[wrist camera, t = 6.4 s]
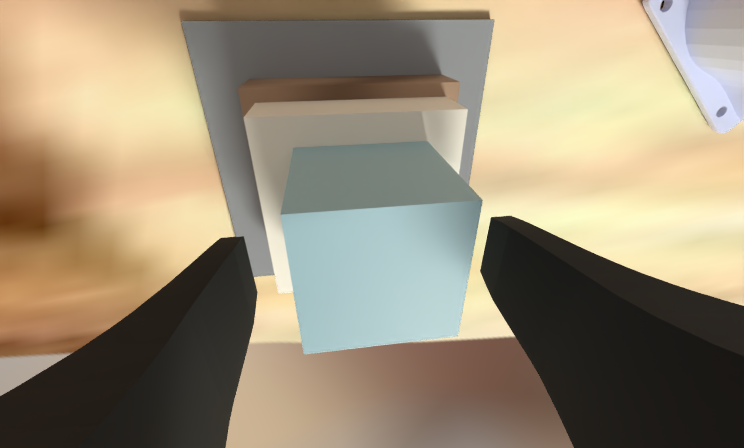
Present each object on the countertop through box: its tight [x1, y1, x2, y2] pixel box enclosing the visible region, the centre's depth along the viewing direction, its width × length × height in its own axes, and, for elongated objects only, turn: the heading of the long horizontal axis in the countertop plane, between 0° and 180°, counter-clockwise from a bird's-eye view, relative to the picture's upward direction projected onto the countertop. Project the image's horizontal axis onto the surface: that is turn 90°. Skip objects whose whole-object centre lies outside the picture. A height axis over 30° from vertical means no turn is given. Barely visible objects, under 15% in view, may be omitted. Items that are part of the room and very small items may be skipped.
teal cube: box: [280, 141, 483, 354], centre depth 10 cm, size 4×4×4 cm
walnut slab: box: [238, 74, 460, 270], centre depth 15 cm, size 8×8×2 cm
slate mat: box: [181, 19, 494, 277], centre depth 16 cm, size 12×12×1 cm
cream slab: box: [244, 97, 468, 294], centre depth 13 cm, size 7×7×2 cm
